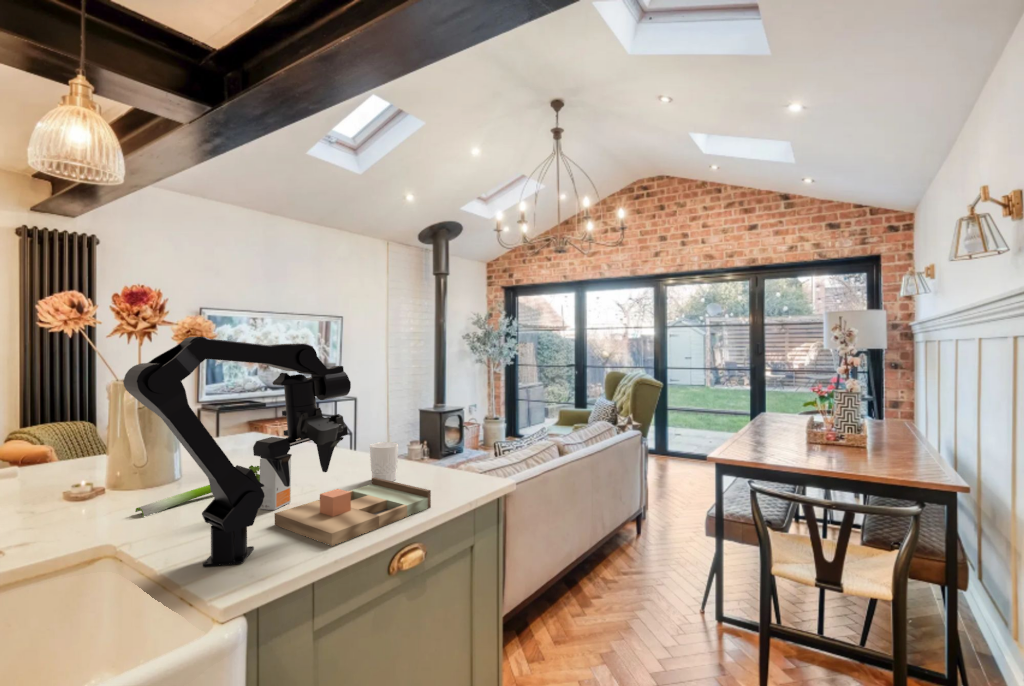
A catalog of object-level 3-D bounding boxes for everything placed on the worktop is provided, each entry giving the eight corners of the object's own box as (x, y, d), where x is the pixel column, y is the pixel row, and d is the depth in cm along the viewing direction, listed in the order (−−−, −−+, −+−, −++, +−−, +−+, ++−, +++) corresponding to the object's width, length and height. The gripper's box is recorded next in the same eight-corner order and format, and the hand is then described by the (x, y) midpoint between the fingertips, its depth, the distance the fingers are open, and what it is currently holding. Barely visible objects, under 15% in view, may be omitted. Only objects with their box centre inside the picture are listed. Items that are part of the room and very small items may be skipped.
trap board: (331, 546, 94) (331, 525, 94) (274, 524, 105) (274, 506, 105) (430, 507, 116) (430, 490, 116) (374, 492, 128) (374, 477, 128)
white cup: (364, 482, 137) (364, 446, 137) (379, 475, 145) (379, 441, 145) (389, 484, 135) (389, 448, 135) (403, 477, 142) (403, 442, 142)
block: (332, 516, 103) (332, 497, 103) (320, 512, 106) (319, 493, 106) (350, 510, 107) (350, 492, 107) (337, 506, 109) (337, 488, 109)
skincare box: (275, 510, 114) (274, 459, 114) (259, 509, 115) (258, 458, 115) (291, 502, 120) (291, 453, 120) (276, 501, 121) (276, 452, 121)
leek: (132, 522, 113) (256, 479, 139) (147, 532, 110) (271, 486, 135) (131, 497, 112) (256, 459, 138) (147, 506, 109) (271, 465, 135)
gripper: (286, 416, 88) (293, 500, 89) (363, 397, 104) (368, 469, 106) (248, 413, 94) (255, 492, 95) (327, 395, 110) (332, 463, 111)
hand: (306, 478), depth 101 cm, fingers open, 9 cm apart
